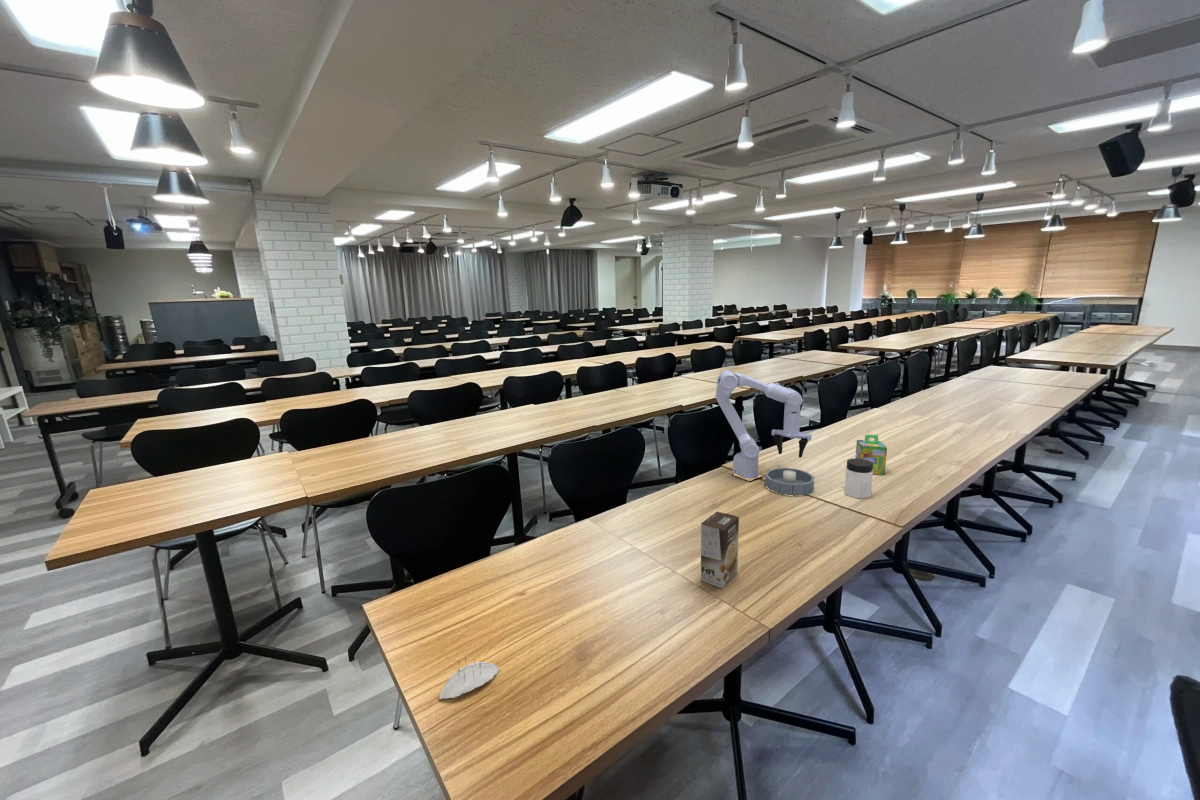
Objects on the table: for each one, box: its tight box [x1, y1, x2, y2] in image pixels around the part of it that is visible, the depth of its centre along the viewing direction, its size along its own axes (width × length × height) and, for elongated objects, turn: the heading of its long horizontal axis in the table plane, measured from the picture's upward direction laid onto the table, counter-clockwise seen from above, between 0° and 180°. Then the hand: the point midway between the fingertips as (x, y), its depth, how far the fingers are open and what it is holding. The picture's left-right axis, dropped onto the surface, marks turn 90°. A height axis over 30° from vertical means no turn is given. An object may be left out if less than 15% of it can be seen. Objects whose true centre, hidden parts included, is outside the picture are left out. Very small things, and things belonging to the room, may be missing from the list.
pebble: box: [783, 470, 796, 484], centre depth 176 cm, size 4×4×5 cm
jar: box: [844, 458, 874, 499], centre depth 167 cm, size 9×8×12 cm
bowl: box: [764, 467, 815, 497], centre depth 176 cm, size 17×17×4 cm
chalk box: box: [854, 434, 888, 476], centre depth 187 cm, size 9×9×15 cm
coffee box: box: [700, 511, 740, 589], centre depth 121 cm, size 9×6×16 cm
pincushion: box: [438, 658, 500, 700], centre depth 91 cm, size 12×6×6 cm, turn 125°
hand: (790, 455), depth 183 cm, fingers open, 7 cm apart
